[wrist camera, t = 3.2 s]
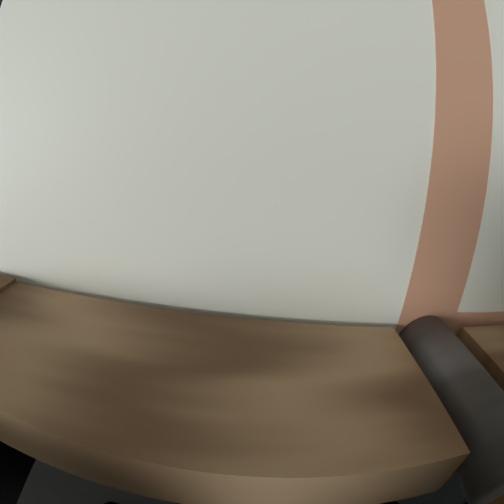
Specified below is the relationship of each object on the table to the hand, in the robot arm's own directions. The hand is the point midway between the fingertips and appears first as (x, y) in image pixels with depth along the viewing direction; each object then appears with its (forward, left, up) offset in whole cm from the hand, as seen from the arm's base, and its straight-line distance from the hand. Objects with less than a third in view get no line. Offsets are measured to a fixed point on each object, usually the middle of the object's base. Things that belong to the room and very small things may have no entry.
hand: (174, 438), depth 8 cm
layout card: (+7, -6, -3) cm, 10 cm away
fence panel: (+2, +1, -2) cm, 3 cm away
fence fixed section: (+2, -14, -3) cm, 14 cm away
